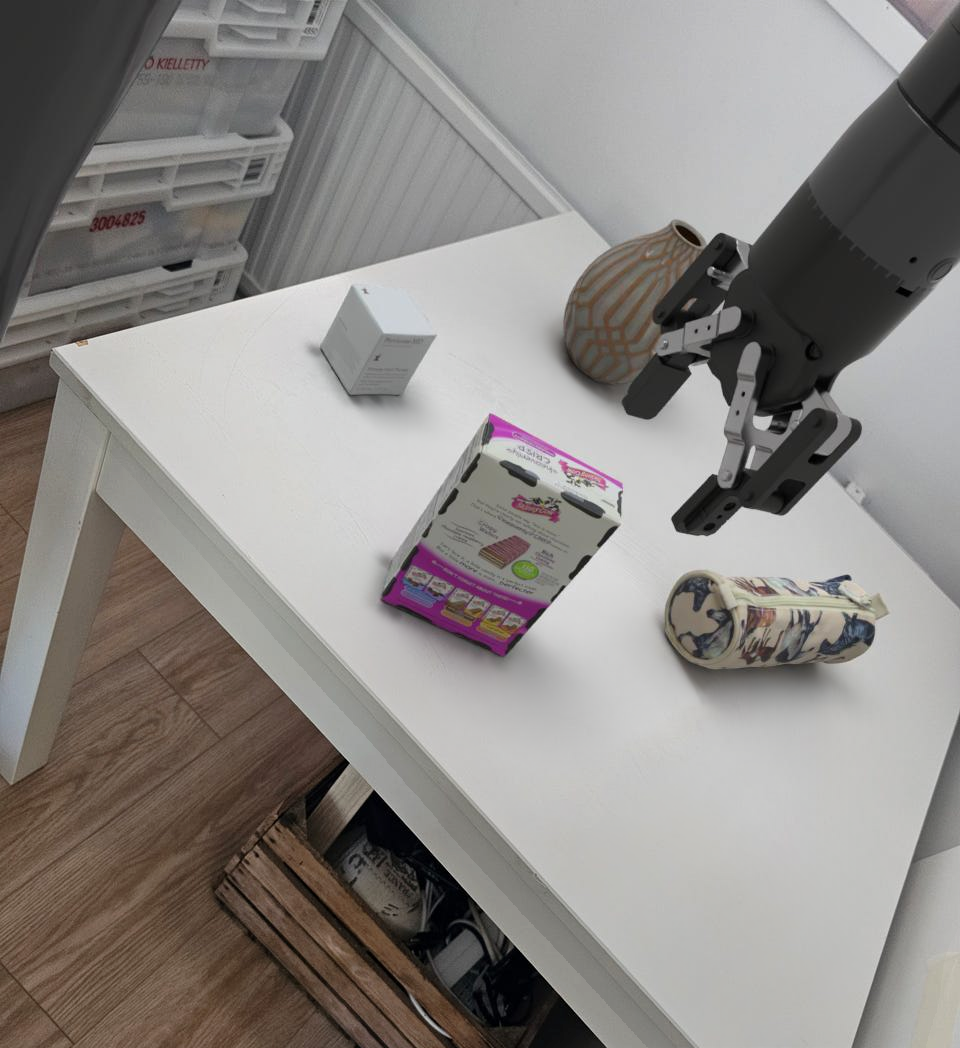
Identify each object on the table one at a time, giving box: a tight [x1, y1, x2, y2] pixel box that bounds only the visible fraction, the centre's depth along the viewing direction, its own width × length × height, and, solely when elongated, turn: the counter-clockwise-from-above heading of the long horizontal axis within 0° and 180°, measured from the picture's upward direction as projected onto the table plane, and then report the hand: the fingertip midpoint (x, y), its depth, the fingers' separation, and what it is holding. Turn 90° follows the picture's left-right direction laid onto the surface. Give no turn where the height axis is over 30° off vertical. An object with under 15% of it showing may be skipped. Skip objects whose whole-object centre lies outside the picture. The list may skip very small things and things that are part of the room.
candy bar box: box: [380, 412, 624, 658], centre depth 76 cm, size 11×5×16 cm, turn 82°
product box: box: [320, 283, 438, 396], centre depth 91 cm, size 6×6×7 cm
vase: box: [562, 218, 708, 385], centre depth 110 cm, size 13×13×18 cm
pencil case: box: [663, 569, 891, 670], centre depth 95 cm, size 22×8×10 cm, turn 112°
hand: (659, 469), depth 57 cm, fingers open, 8 cm apart
